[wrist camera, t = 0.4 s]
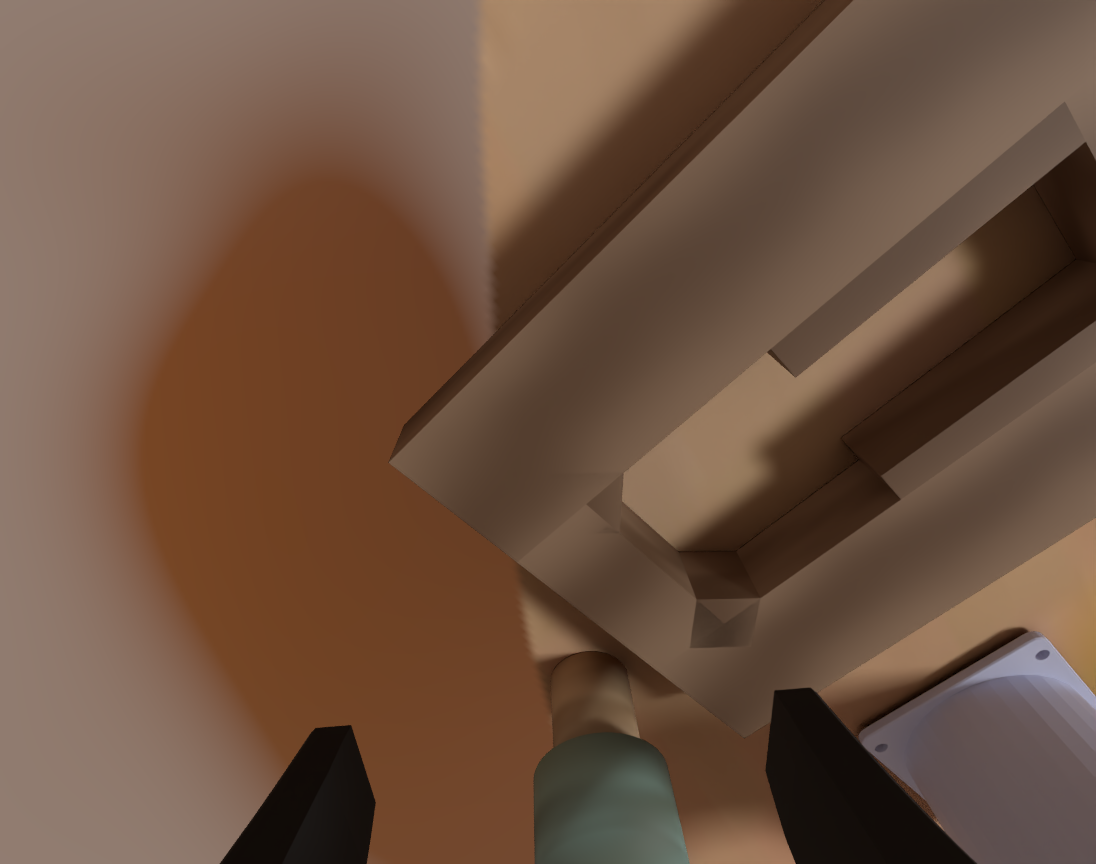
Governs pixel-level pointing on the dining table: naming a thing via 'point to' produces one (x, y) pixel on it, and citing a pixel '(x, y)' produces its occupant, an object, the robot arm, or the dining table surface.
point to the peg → (602, 775)
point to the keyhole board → (804, 351)
